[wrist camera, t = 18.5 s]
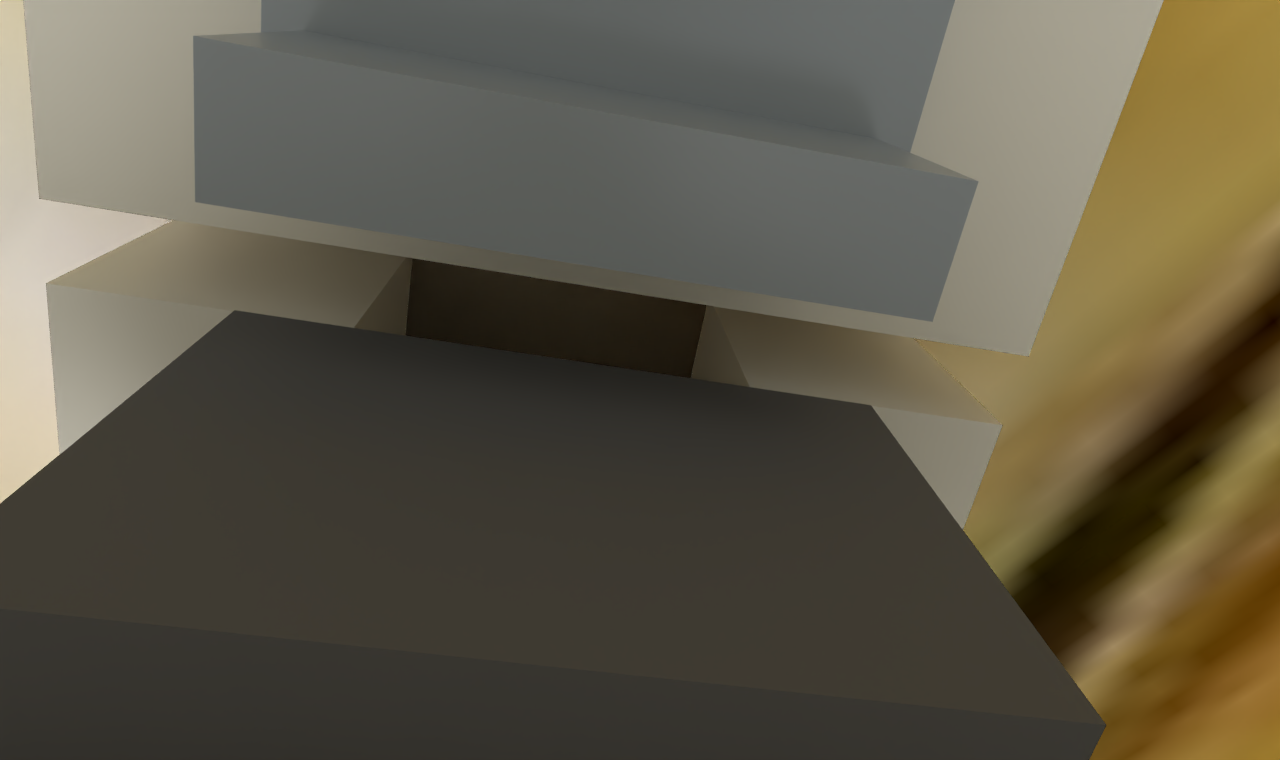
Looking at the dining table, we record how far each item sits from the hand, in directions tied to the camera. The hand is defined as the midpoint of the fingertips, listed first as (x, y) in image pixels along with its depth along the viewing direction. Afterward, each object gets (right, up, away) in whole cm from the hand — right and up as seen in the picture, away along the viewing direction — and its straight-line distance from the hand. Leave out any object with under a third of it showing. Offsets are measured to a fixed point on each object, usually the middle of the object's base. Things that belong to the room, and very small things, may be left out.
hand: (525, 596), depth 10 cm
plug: (0, +1, +2) cm, 2 cm away
